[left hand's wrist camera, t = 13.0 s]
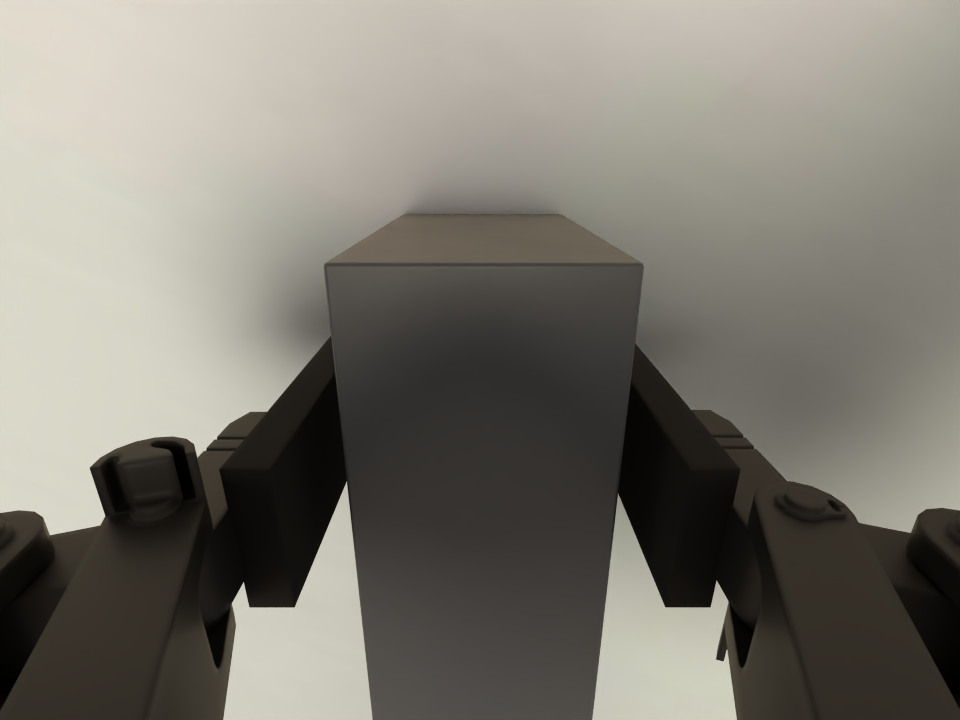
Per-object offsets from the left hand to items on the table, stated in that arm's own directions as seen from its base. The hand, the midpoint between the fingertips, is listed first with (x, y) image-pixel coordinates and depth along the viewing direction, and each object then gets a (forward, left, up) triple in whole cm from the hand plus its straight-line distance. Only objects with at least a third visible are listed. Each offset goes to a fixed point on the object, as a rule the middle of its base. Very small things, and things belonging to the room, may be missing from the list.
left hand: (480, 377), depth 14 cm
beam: (+3, +28, -2) cm, 28 cm away
